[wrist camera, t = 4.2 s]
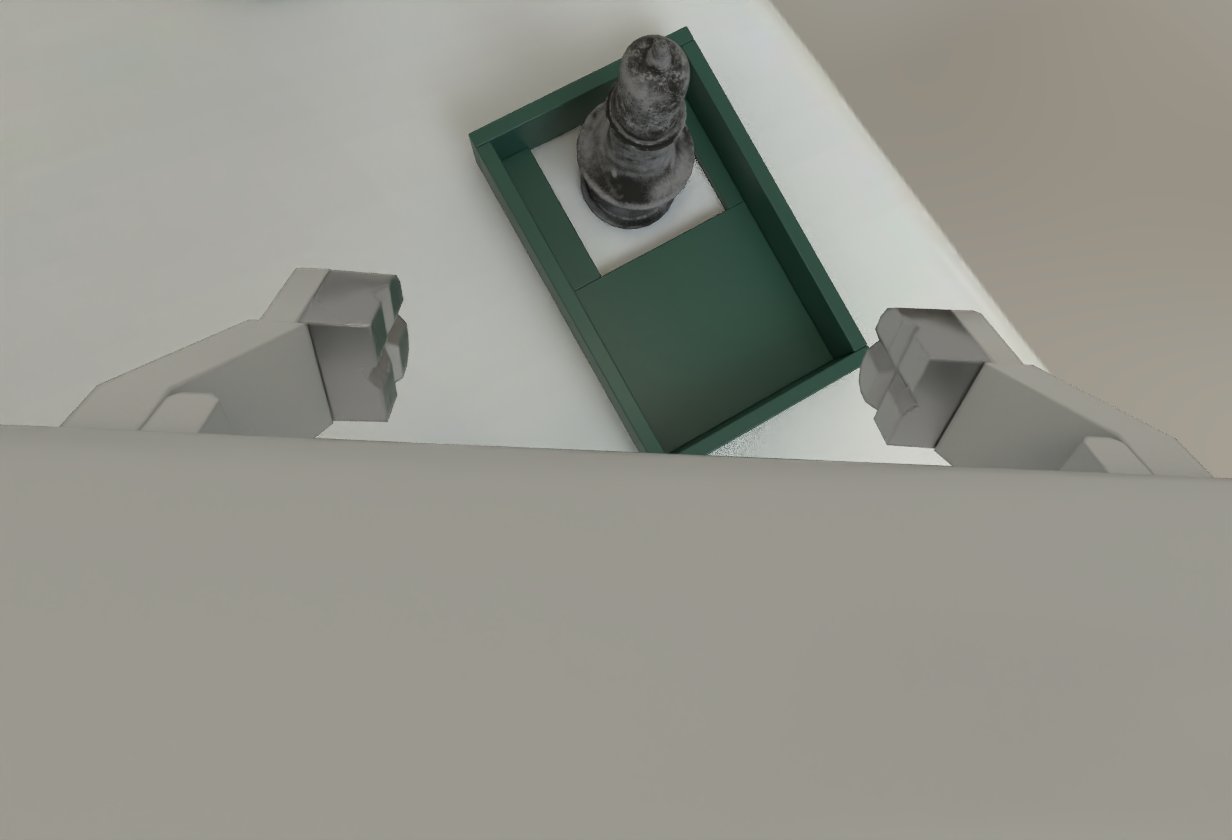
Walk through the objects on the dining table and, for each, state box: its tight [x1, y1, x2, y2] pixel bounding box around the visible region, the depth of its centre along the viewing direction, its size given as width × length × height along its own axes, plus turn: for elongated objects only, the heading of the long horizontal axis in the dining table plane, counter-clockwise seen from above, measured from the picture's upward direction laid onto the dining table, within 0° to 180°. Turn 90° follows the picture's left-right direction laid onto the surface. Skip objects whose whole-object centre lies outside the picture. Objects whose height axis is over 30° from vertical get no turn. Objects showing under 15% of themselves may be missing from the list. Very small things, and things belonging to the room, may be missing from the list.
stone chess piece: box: [577, 35, 695, 229], centre depth 30 cm, size 6×6×12 cm
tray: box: [469, 26, 869, 455], centre depth 34 cm, size 20×13×3 cm, turn 29°
